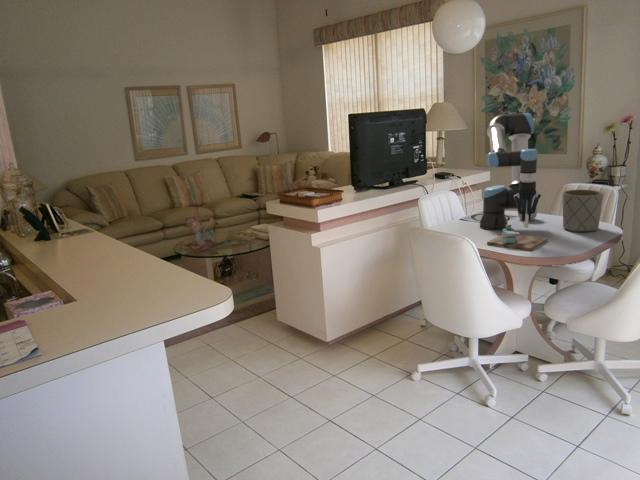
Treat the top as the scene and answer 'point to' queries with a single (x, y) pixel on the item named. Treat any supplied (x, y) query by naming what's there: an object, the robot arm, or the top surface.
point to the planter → (582, 210)
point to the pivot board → (517, 241)
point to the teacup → (531, 214)
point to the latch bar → (510, 238)
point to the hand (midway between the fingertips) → (525, 226)
